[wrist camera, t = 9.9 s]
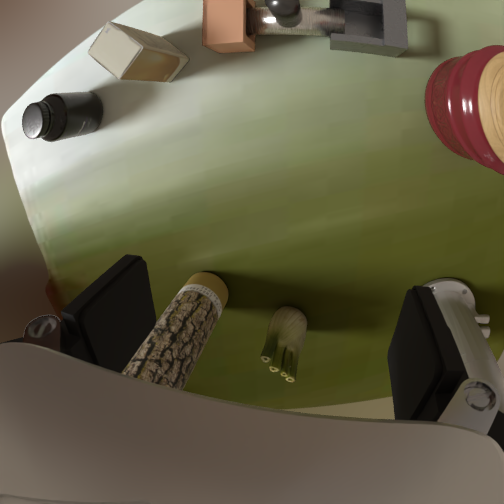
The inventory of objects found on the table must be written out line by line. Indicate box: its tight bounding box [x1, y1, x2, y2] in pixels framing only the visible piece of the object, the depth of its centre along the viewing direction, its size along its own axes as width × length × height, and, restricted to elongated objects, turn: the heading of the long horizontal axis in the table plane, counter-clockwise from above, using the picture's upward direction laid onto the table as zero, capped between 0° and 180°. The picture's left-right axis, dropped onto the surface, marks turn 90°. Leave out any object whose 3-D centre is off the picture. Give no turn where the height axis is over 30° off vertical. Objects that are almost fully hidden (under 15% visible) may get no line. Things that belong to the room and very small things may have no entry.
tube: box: [246, 0, 345, 36], centre depth 25 cm, size 12×4×10 cm, turn 89°
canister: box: [425, 45, 504, 175], centre depth 21 cm, size 13×13×18 cm
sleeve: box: [329, 0, 408, 58], centre depth 26 cm, size 8×6×6 cm
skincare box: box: [88, 21, 189, 82], centre depth 30 cm, size 6×4×12 cm
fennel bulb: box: [261, 306, 307, 382], centre depth 42 cm, size 6×5×12 cm
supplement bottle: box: [22, 92, 103, 142], centre depth 35 cm, size 7×7×12 cm
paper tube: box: [121, 272, 229, 391], centre depth 38 cm, size 7×7×25 cm
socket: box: [202, 0, 255, 53], centre depth 29 cm, size 4×7×6 cm, turn 179°
